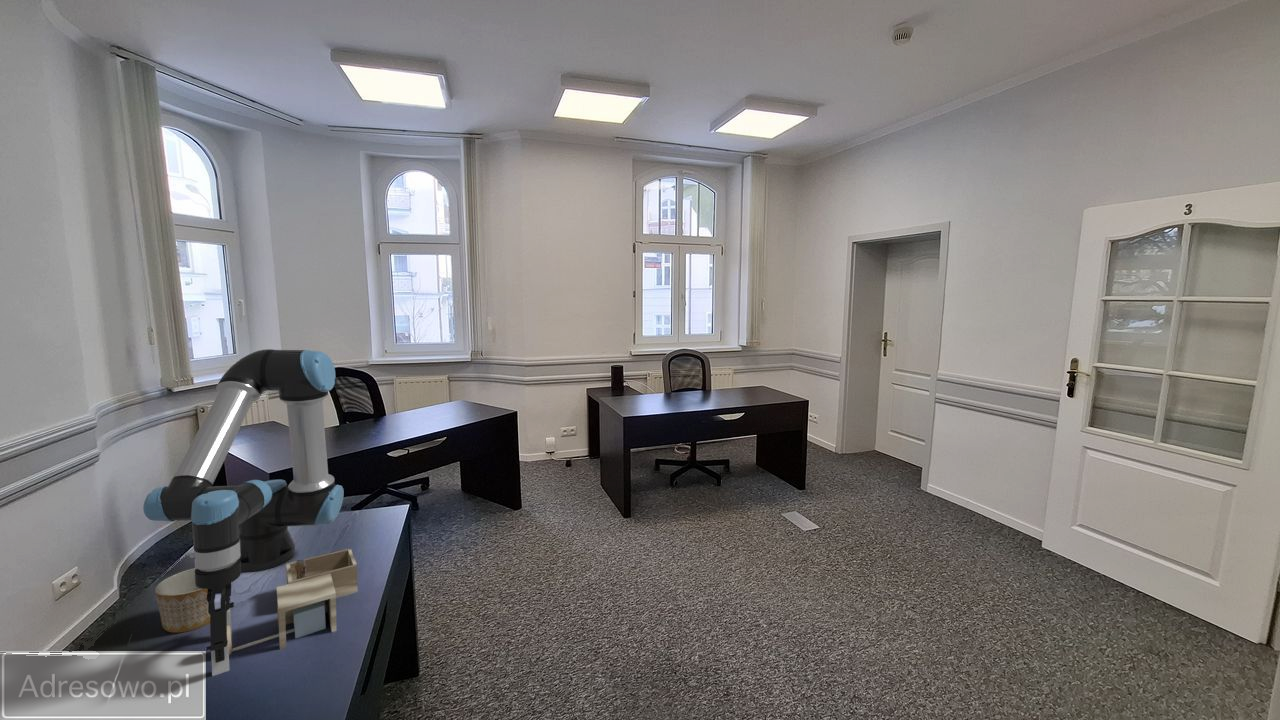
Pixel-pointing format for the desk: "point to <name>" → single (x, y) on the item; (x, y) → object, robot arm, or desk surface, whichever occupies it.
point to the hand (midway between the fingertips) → (222, 654)
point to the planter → (182, 603)
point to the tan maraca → (304, 624)
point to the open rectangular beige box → (330, 570)
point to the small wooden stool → (305, 601)
